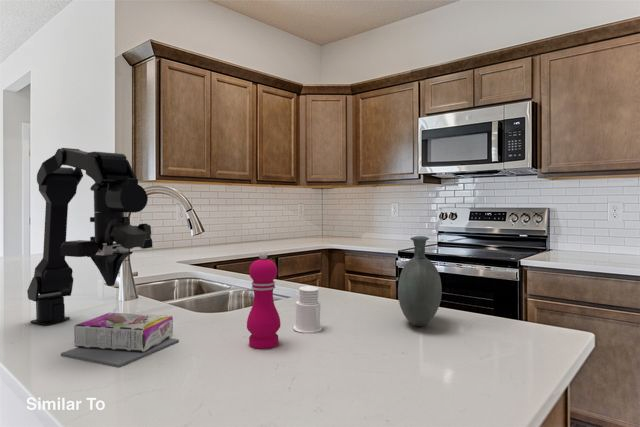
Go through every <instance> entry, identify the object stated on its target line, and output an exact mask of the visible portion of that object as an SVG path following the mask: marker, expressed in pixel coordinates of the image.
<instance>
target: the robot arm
mask: <svg viewBox="0 0 640 427" xmlns="http://www.w3.org/2000/svg"><path fill="white" fill-rule="evenodd" d="M63 166H69V167H63ZM83 171H85V174H86V176H88V177H90V178H91V179H93V181H94V183H93V184H92V185H91V186H90V188H89V189H90V191H91V192H93V216H90V217H89V222H90V223H94V224H93V226H94V227H93V228H94V236H89V240H85V239H84V240H83V239H78V240H77V239H76V240H69V241H67V228H68V225H67V224H68V215H69V214H68V211H69V203H70V202H71V201H72V200H73V198H74V197H75V196H76V194H77V189H78V185H79V184H80V182H81V181H82V179H83V177H84V174H83ZM36 183H37V185H38V192H39V193H40V195H41V196H42V198H43V199H44V201H45V210H44V211H45V212H44V214H45V216H44V234H43V253H42V255H43V256H42V258H41V260H40V261H39V263H38V264H37V265H36V266H35V268H34V272H33V273H34V274H33V277H32V279H31V281H30V283H29V285H28V288H27V291H26V293H27V298H28V300H30V301H32V302H35V310H36V313H35V315H36V319H33V320H30V323H31V324H37V325H41V326H42V325H43V326H49V325H53V324H56V323H57V324H58V323H61V322H64V321H68V320H70V319H71V317H70V316H66V314H65V313H66V312H65V311H66V309H65V308H66V307H65V305H66V304H65V297H71V296H72V293H73V286H74V277H73V268H72V267H71V266H70V265H69V264H68V262H67V261H66V257H73V258H86V257H87V258H90V260H92V262H93V263H94V265H95V266H96V267H97V270H98V271H99V273H100V274H101V276H102V278H103V281H104V282H105V283H106V286H108V287H113V286H115V284H116V280H117V279H118V275H119V273H120V270H121V266H122V264H123V262H124V261H125V259H126V258H128V257H129V255H133V253H134V252H133V251H129V250H132V249H133V248H141V249H142V250H145V249H153V239H152V237H151V236H152V228H151V225H150V224H148V223H139V224H138V225H132V224H131V223H130V221H131V220H130V218H129V216H125V213H132V214H133V213H139V212H141V211H143V210H144V209H145V208H146V207H147V204H148V200H149V199H148V194H147V191H146V190H145V188H143V187H142V186H141V185H140V184H139V179H138V177H137V175H136V173H135V172H134V170H133V168H132V165H131V163H130V161H129V160H128V158H127V156H126V155H125V154H124V153H118V152H103V151H90V152H88V151H86V150H85V151H84V150H81V149H79V148H70V147H68V148H67V147H60V148H58V149H57V150H56V152H55V153H54V155H52V156H51V157H49V158H48V159H46V160H44V161H43V162H42V163H41V165H40V167H39V168H38V171H37V173H36Z"/></svg>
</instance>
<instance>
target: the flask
mask: <svg viewBox="0 0 640 427" xmlns="http://www.w3.org/2000/svg"><path fill="white" fill-rule="evenodd" d="M409 239H410V240H411V241H412V242H413V246H414V249H413V251H414V254H413V257H412V258H410V259H409V260H408V261H407V262H406V263H405V265H403V268H402V269H401V272H400V274H399V280H398V285H397V287H398V288H397V296H398V298H397V299H398V303H399V307H400V309H401V312H402V313H403V315H404V317H405V318H406V320H407V321H408V322H409V323H410V324H411V325H413V326H415V327H423V326H425V325H427V323H429V322H430V321H431V320H432V319H433V318H434V317H435V316H436V313H437V311H438V310H439V307H440V304H441V301H442V293H443V291H442V290H443V288H442V280H441V276H440V273H439V271H438V269H437V267H436V265H435V264H434V263H433V262H432V261H431V260H430V259H429V258H428V257H426V243H427V241H428V240H430V238H429V237H428V236H425V235H424V236H421V235H418V236H417V235H416V236H413V237H410V238H409Z"/></svg>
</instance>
